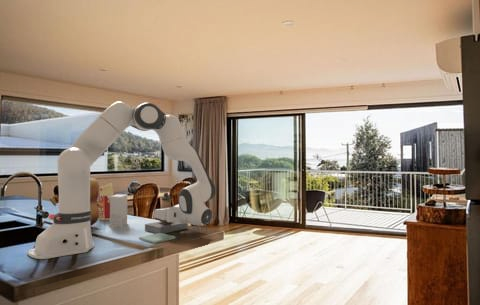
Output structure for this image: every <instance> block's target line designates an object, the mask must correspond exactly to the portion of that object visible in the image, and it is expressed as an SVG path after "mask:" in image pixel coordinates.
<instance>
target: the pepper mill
mask: <svg viewBox="0 0 480 305" xmlns="http://www.w3.org/2000/svg"><path fill="white" fill-rule="evenodd" d="M160 202H161V203H160V209H163V208H169V207H172V199H171V196H169V193H168V192H164V193H163V196H161V200H160ZM160 221H161V224H162V225H168V224H171V222H167V220H161V219H160Z"/></svg>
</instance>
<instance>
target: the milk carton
mask: <svg viewBox="0 0 480 305" xmlns="http://www.w3.org/2000/svg"><path fill="white" fill-rule="evenodd" d="M113 195H115V191H114V188H113V183H112V182H111V183H108V184H106V185H101V186H100V185H99V195H98V197H99V198H98V209H99V218H98V220H101V221H107V220H109V221H110V196H113Z"/></svg>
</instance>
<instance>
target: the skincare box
mask: <svg viewBox="0 0 480 305" xmlns="http://www.w3.org/2000/svg"><path fill="white" fill-rule="evenodd" d="M127 224H128V193H127V194H124V193H123V194H122V193H121V194H120V193H119V194H118V193H117V194H114V195H113V196H110V220H109V227H110V228H122V227H124V226H127Z"/></svg>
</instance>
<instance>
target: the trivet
mask: <svg viewBox="0 0 480 305" xmlns="http://www.w3.org/2000/svg"><path fill="white" fill-rule="evenodd" d="M138 239H139V240H141V241H145V242H147V243H151V244H158V243H162V242H166V241H170V240H174V239H175V240H176V236H175V235H170V234H168V233H164V234H163V233H153V234H148V235H143V236H139V237H138Z"/></svg>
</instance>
